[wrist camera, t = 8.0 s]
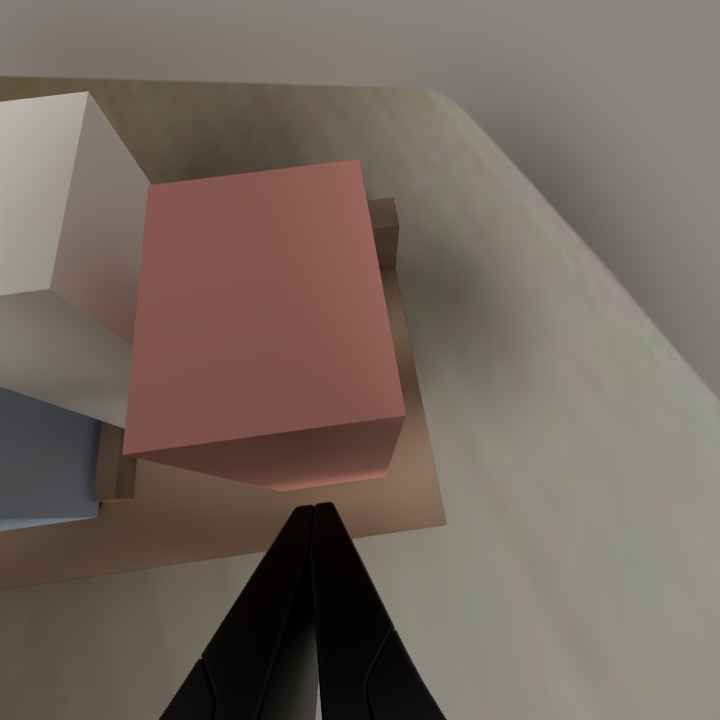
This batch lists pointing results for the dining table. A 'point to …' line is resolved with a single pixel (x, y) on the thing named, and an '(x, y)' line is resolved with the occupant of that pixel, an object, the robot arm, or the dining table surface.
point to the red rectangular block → (264, 331)
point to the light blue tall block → (45, 462)
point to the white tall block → (68, 255)
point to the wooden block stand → (231, 489)
